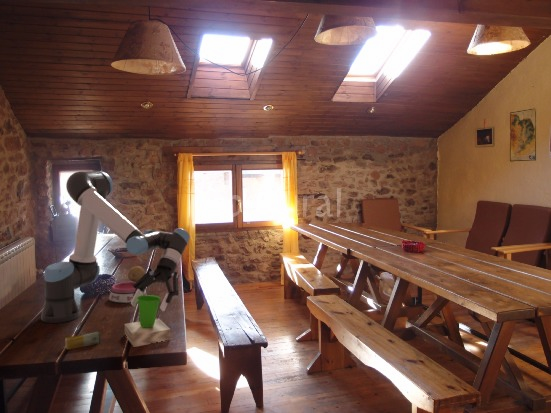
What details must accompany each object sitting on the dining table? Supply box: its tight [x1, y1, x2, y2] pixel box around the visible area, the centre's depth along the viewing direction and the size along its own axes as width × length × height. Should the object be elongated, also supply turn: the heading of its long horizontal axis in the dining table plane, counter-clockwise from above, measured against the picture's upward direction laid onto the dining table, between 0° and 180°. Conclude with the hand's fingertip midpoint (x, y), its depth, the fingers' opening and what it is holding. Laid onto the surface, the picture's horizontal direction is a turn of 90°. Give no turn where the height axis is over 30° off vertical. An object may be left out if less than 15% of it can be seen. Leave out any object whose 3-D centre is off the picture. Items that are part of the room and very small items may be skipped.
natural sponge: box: [127, 265, 146, 282], centre depth 260 cm, size 9×9×10 cm
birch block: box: [124, 318, 171, 348], centre depth 183 cm, size 14×14×5 cm
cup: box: [137, 294, 162, 327], centre depth 183 cm, size 9×9×11 cm
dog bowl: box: [108, 281, 148, 304], centre depth 234 cm, size 18×19×7 cm
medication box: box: [64, 331, 101, 350], centre depth 174 cm, size 12×3×4 cm, turn 125°
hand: (147, 307), depth 181 cm, fingers open, 13 cm apart
